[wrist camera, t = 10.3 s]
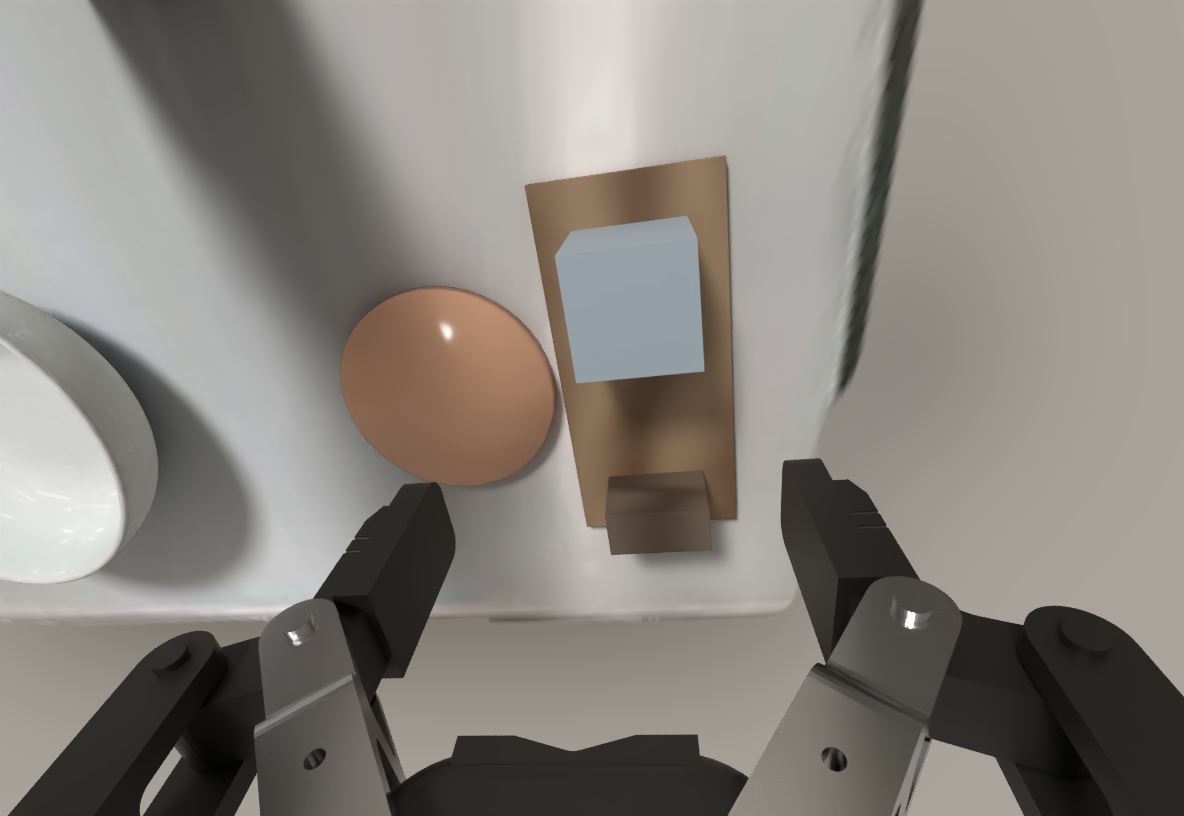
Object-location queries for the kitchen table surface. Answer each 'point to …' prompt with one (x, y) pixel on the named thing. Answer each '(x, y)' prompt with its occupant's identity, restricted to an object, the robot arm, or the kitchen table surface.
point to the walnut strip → (657, 403)
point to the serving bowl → (66, 452)
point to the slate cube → (632, 300)
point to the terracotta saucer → (448, 386)
